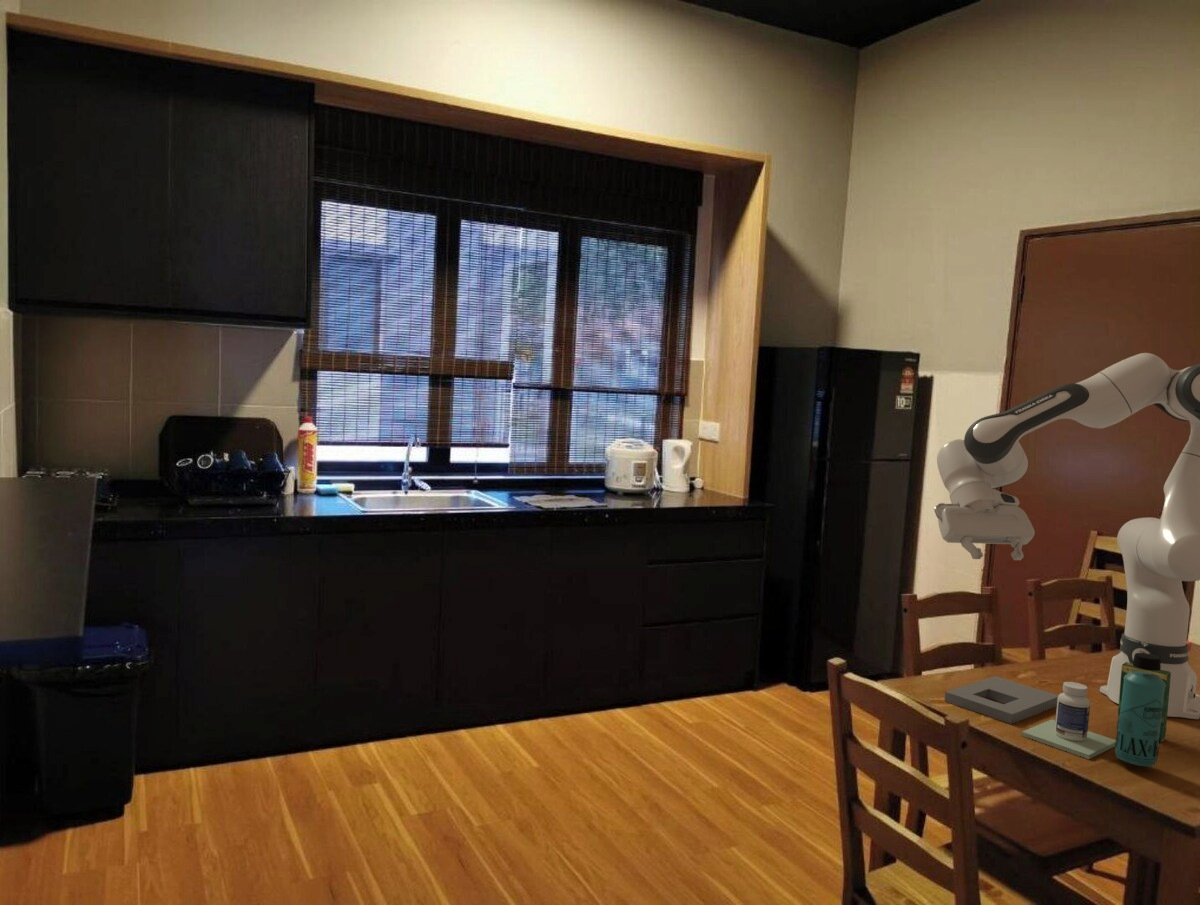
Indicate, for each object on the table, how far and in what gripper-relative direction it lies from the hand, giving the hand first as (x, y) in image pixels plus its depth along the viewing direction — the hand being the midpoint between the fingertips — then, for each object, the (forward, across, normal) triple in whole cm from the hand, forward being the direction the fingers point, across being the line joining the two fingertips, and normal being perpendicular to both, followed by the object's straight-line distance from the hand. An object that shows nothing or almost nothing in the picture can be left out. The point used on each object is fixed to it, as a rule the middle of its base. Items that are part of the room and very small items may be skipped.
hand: (998, 558), depth 186 cm
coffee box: (+36, +18, +6) cm, 41 cm away
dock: (+24, +1, +17) cm, 30 cm away
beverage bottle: (+46, +6, -4) cm, 46 cm away
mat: (+37, +2, +4) cm, 38 cm away
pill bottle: (+37, +2, +4) cm, 37 cm away
